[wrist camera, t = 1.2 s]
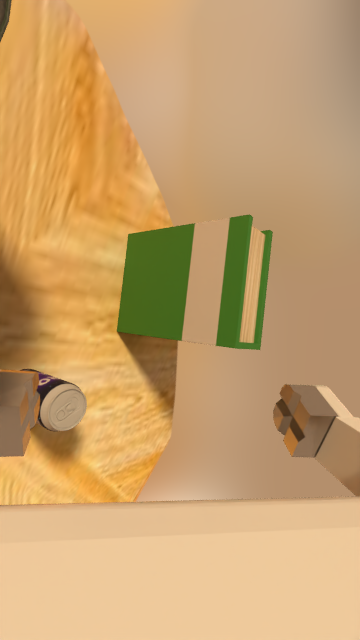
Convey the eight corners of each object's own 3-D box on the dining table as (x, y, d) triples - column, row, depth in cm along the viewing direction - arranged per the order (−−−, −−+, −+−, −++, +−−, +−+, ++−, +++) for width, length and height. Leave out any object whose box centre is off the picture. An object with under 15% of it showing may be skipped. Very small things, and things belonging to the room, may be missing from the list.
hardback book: (128, 234, 57) (249, 214, 41) (156, 245, 62) (272, 232, 47) (116, 331, 56) (235, 348, 41) (146, 334, 62) (260, 349, 46)
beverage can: (48, 391, 47) (96, 412, 39) (12, 417, 43) (57, 445, 36) (31, 360, 45) (78, 375, 37) (-8, 383, 41) (35, 406, 33)
